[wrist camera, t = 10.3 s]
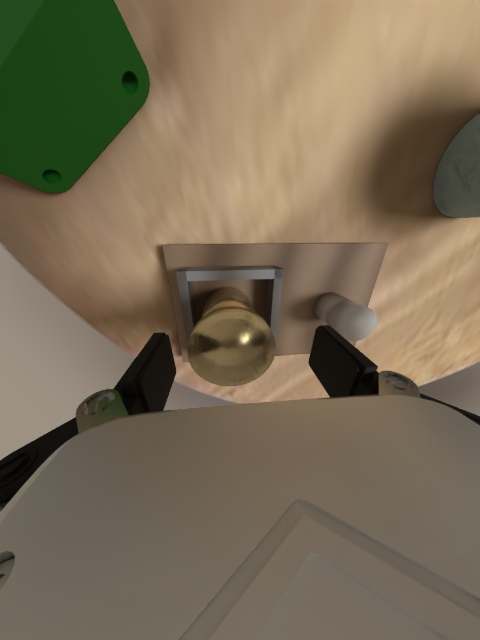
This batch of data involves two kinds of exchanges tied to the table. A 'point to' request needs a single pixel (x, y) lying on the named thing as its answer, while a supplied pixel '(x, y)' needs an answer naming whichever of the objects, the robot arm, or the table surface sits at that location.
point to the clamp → (64, 87)
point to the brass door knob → (230, 340)
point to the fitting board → (280, 287)
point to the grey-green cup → (460, 174)
